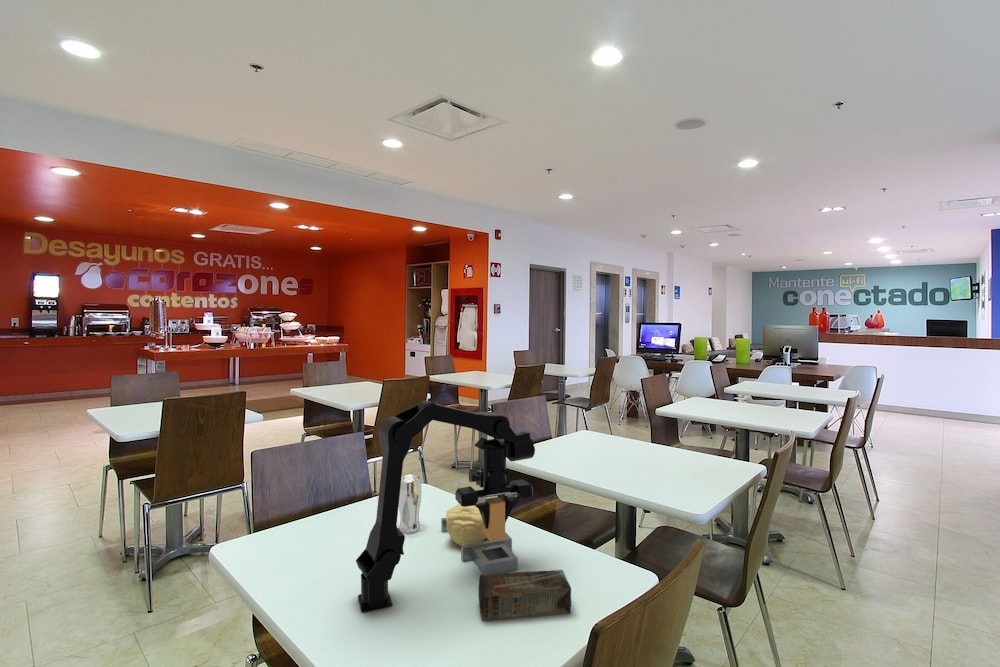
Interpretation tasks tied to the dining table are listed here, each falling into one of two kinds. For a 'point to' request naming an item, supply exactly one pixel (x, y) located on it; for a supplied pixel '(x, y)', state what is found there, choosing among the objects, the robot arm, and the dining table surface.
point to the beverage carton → (524, 594)
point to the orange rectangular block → (495, 519)
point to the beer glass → (410, 503)
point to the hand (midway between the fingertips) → (494, 526)
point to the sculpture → (465, 525)
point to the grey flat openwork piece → (489, 554)
